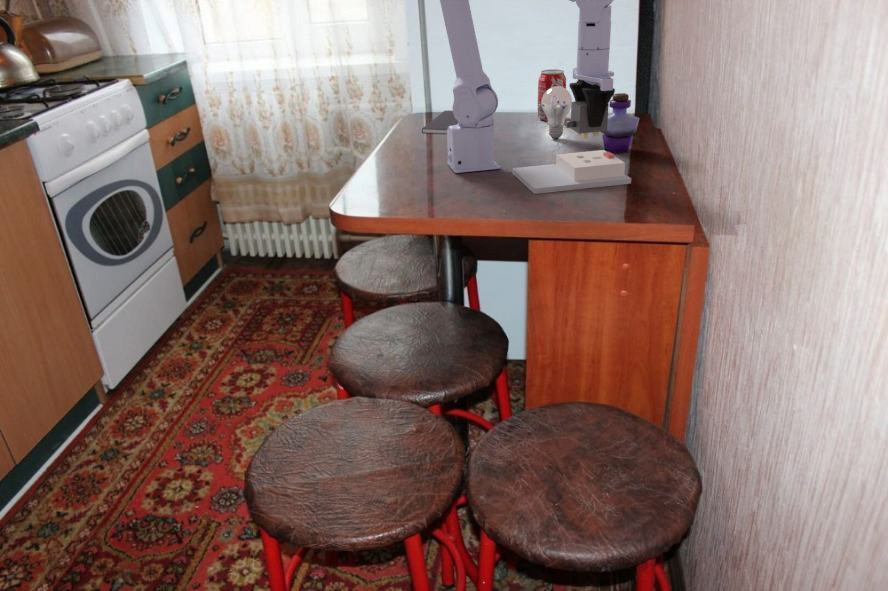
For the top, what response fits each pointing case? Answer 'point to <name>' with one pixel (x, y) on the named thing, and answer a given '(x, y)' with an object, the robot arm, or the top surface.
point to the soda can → (548, 86)
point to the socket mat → (560, 179)
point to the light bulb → (556, 109)
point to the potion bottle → (620, 125)
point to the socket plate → (590, 165)
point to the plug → (584, 120)
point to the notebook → (441, 123)
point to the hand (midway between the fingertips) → (589, 123)
